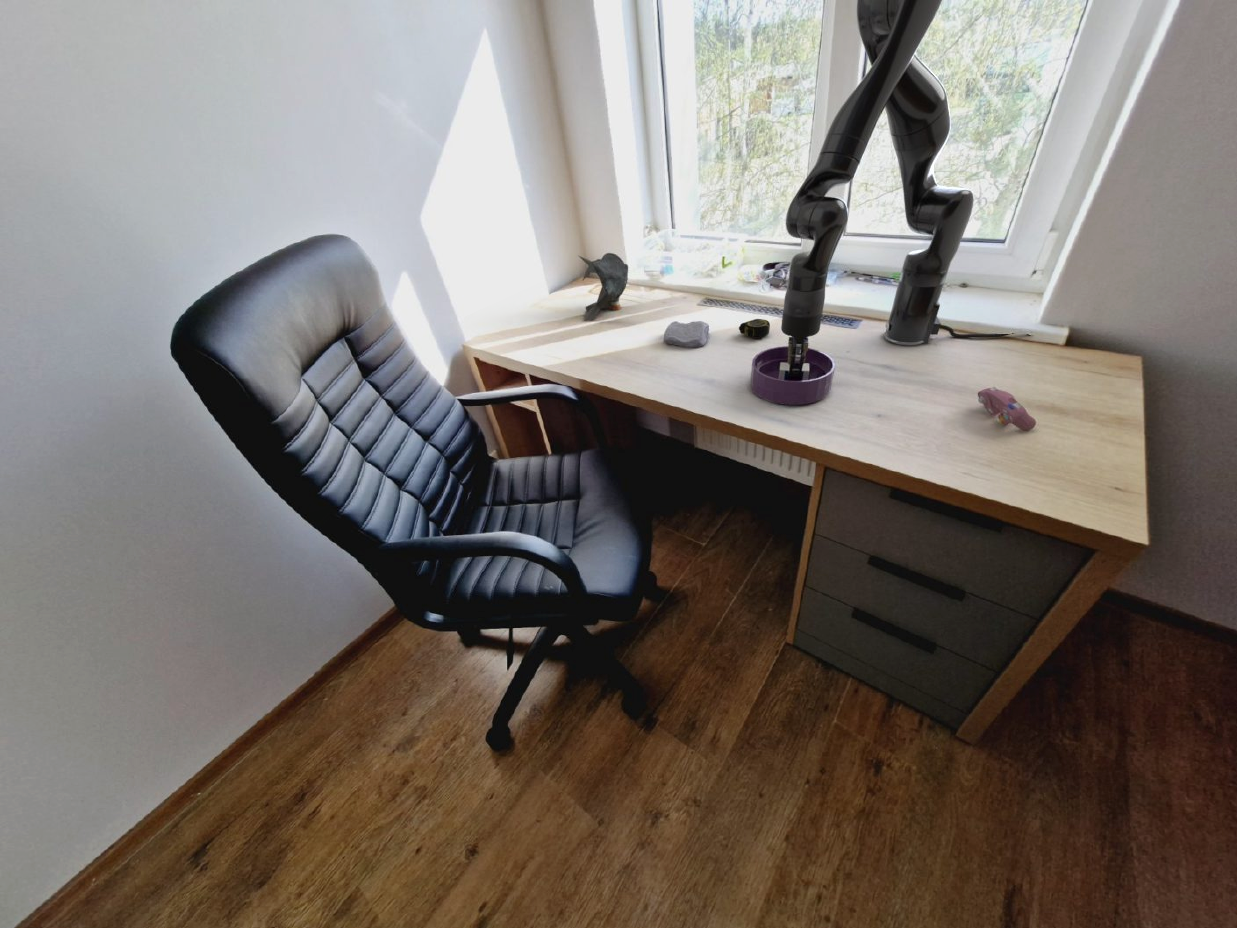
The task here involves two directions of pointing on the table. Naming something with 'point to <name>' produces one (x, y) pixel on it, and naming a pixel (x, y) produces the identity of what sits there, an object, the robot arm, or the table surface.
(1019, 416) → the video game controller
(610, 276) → the dark grey bird-shaped figure
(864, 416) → the table surface
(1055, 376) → the table surface
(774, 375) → the bowl
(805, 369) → the white box
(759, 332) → the tape measure
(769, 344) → the table surface
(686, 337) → the stone block
